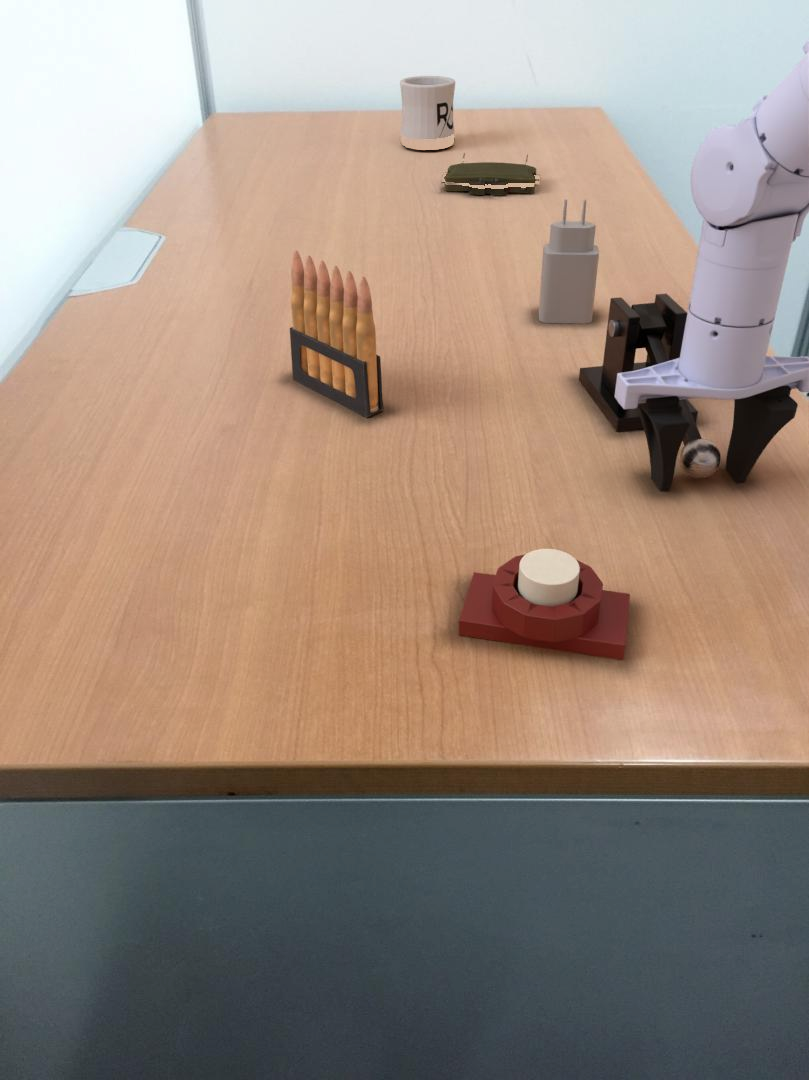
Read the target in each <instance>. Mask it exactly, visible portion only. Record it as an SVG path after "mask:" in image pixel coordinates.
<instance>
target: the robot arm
mask: <svg viewBox="0 0 809 1080" xmlns="http://www.w3.org/2000/svg"><path fill="white" fill-rule="evenodd" d="M802 50H803V53H804V55H803V57H801V59H799V61H798V62H797V63H796V64H795V65H794V67H793V68H792V69H791V70H790V71H789V72H787V74H786V75H785V76H784V77H783V79H781V80H780V82H779V83H778V84H777V85H776V86H775V87H774V89H772V91H771V92H770V93H769V94H766V95H762V96H760V98H759V99H758V100H757V101H756V102H755V103H754V105H752V110H753V111H752V112H751V114H750V115H749V116H748V117H747V118H743V119H742V120H740V122H739V123H738V124H726V125H719V126H717V127H714V128H713V129H711V130H710V131H708V132H707V133H706V135H705V138H704V140H703V141H702V143H700V146H699V147H698V149H697V151H696V152H695V155H694V158H693V161H692V165H691V169H690V190H691V191H690V192H691V196H692V200H693V202H694V205H695V207H696V210H697V211H698V213H699V214H700V216H701V217H702V225H701V231H700V236H699V243H698V247H697V248H698V249H697V255H696V261H695V265H694V272H693V277H692V278H693V279H692V284H691V288H690V289H691V290H690V295H689V301H688V307H687V319H686V324H685V330H684V336H683V342H682V348H681V353H680V358H677V359H674V360H670V361H667V362H664V363H660V364H657V365H654V366H650V367H647V368H644V369H640V370H636V371H631V372H624V373H618V374H617V381H616V389H615V396H614V397H615V398H616V400H617V401H618V403H619V404H620V405H621V406H622V407H623V409H635V408H637V410H638V413H639V415H640V418H641V421H642V424H643V427H644V429H643V430H644V434H645V439H646V443H647V446H648V455H649V464H650V465H649V466H650V479H651V481H652V482H653V483H654V485H655V486H656V488H657V489H658V490H659V491H660V492H668V491H670V490H671V488H672V485H673V481H674V477H675V472H676V471H675V470H676V464H677V459H678V455H679V451H680V448H681V446H682V443H683V438H684V436H685V434H686V432H687V430H688V428H689V426H690V425H691V424H690V423H689V422H688V421H687V420H686V419H685V417H684V416H683V415H682V414H681V410H682V406H679V400H682V399H687V400H691V399H710V400H729V401H730V400H731V401H733V400H734V401H733V402H734V405H733V419H732V428H731V435H730V439H729V441H728V442H729V443H728V448H727V452H726V459H725V471H726V472H727V473H728V474H729V476H730V477H731V478H732V480H734V482H735V483H736V484H742V483H746V481H747V479H748V477H749V475H750V473H751V472H752V470H753V469H754V467H755V465H756V463H757V461H758V460H759V458H760V457H761V455H762V454H763V452H764V451H765V449H766V448H767V446H768V445H769V444H770V442H771V441H772V440H773V439H774V437H776V436H777V434H779V432H780V431H781V430H782V429H783V428H784V427H785V426H786V425H787V424H788V423H790V422H791V421H792V420H793V419H795V416H796V414H797V410H798V406H799V405H798V402H796V400H795V399H793V397H791V396H790V395H791V391H792V390H795V389H796V390H798V392H800V393H809V356H807V355H806V356H803V355H802V356H778V355H776V356H775V355H767V354H768V351H769V350H768V349H769V344H770V341H771V337H772V331H773V327H774V324H775V323H774V322H775V319H776V314H777V310H778V307H779V306H778V305H779V301H780V296H781V292H782V288H783V283H784V279H785V274H786V272H787V271H786V270H787V266H788V261H789V257H790V252H791V249H792V244H793V242H795V241H796V239H797V238H798V237H800V236H801V235H802V229H803V226H804V221H805V219H806V217H807V215H808V214H809V39H807V40H806V42H805V43H803V45H802Z"/></svg>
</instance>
